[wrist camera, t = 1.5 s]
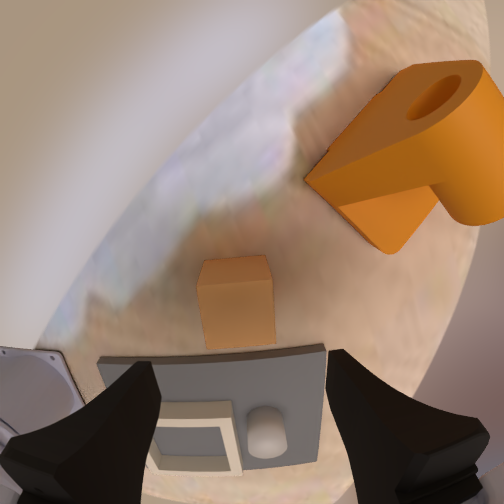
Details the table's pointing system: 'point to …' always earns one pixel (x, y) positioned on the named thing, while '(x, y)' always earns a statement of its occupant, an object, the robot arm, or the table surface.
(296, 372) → the board
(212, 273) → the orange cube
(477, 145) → the bracket
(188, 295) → the table surface
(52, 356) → the robot arm
